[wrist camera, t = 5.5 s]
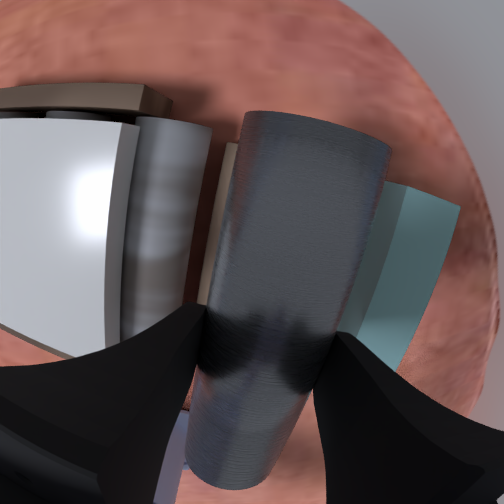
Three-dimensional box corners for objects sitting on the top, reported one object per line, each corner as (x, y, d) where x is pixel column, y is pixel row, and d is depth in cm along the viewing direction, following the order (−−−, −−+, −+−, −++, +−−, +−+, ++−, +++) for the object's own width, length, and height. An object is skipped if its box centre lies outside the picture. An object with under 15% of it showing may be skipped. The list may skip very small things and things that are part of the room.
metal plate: (120, 348, 16) (106, 368, 14) (-30, 285, 16) (-47, 296, 14) (140, 126, 13) (121, 122, 11) (-31, 121, 12) (-52, 122, 10)
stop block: (347, 357, 20) (368, 416, 15) (307, 351, 20) (319, 413, 15) (405, 189, 17) (460, 206, 11) (362, 175, 17) (407, 186, 11)
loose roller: (265, 423, 14) (281, 488, 10) (184, 418, 13) (184, 487, 9) (350, 149, 10) (422, 157, 6) (237, 119, 9) (258, 101, 5)
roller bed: (283, 369, 21) (287, 416, 16) (-5, 285, 20) (-37, 306, 16) (350, 138, 16) (379, 133, 12) (2, 98, 15) (-39, 95, 11)
